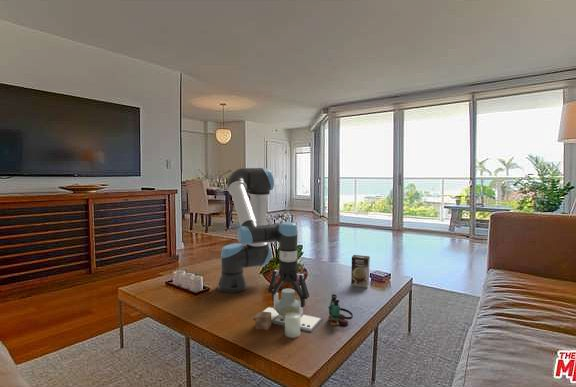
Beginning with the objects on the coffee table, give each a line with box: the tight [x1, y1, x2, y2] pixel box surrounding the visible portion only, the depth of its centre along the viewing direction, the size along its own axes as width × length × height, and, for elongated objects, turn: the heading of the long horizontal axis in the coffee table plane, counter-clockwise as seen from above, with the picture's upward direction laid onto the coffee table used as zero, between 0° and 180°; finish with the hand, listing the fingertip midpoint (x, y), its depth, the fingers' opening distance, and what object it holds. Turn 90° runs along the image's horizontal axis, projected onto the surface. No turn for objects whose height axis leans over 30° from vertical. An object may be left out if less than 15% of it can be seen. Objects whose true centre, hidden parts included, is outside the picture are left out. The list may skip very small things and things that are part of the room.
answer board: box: [253, 306, 323, 333], centre depth 135 cm, size 26×12×1 cm, turn 63°
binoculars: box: [327, 293, 354, 327], centre depth 133 cm, size 9×11×10 cm
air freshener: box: [275, 288, 299, 316], centre depth 135 cm, size 11×8×10 cm
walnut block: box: [255, 310, 272, 331], centre depth 129 cm, size 5×5×5 cm
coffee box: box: [350, 254, 371, 289], centre depth 177 cm, size 9×6×16 cm
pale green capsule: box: [284, 313, 301, 339], centre depth 123 cm, size 6×6×7 cm
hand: (288, 311), depth 135 cm, fingers closed on air freshener, 11 cm apart
